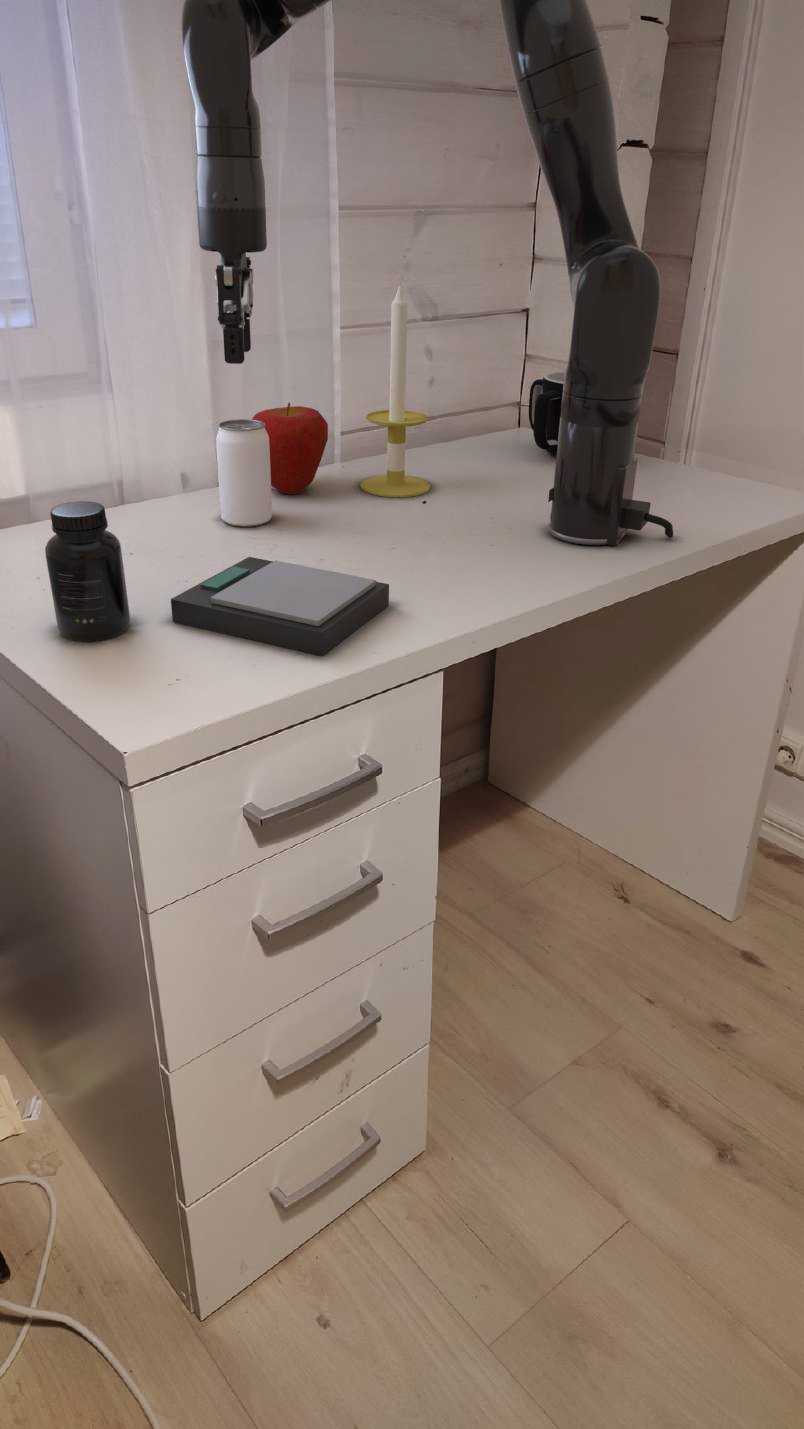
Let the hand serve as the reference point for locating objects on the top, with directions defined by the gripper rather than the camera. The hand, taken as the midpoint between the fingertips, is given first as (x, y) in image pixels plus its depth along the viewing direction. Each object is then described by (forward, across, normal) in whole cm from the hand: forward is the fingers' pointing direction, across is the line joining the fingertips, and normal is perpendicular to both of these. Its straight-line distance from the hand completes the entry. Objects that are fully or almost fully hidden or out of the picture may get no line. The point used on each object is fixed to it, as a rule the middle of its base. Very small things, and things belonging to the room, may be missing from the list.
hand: (238, 357), depth 119 cm
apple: (+20, +13, -5) cm, 25 cm away
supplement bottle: (+20, -35, +12) cm, 42 cm away
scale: (+20, -31, -6) cm, 37 cm away
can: (+20, 0, 0) cm, 20 cm away
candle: (+20, +16, -20) cm, 32 cm away
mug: (+20, +36, -50) cm, 64 cm away
